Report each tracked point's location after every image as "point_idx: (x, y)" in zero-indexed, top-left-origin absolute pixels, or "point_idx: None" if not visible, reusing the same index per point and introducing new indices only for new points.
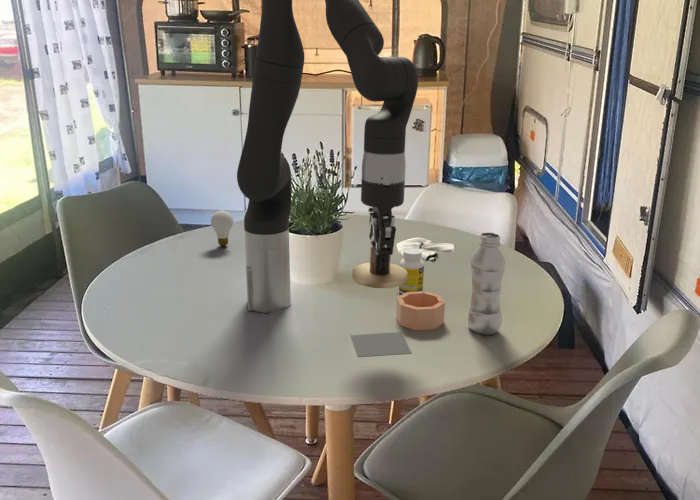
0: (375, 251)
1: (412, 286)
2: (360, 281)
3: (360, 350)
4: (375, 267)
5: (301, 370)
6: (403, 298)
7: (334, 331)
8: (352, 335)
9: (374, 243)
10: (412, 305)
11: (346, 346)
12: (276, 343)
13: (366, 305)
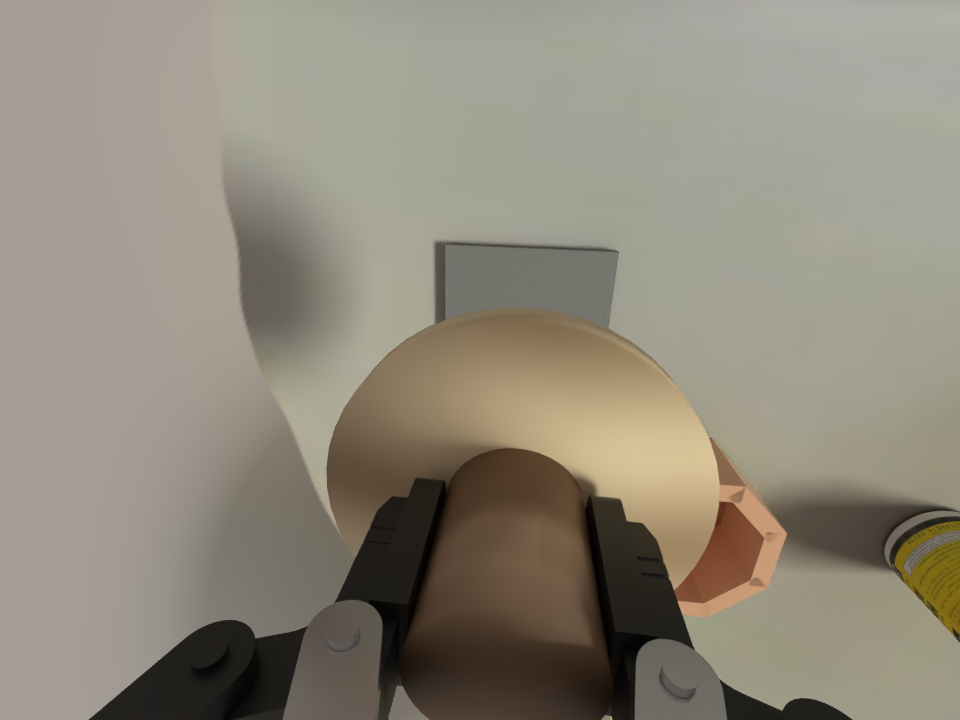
0: (345, 629)
1: (916, 564)
2: (400, 347)
3: (489, 263)
4: (435, 503)
5: (394, 9)
6: (736, 505)
7: (694, 197)
8: (614, 258)
9: (630, 692)
10: (740, 513)
11: (553, 222)
12: None
13: (889, 370)
